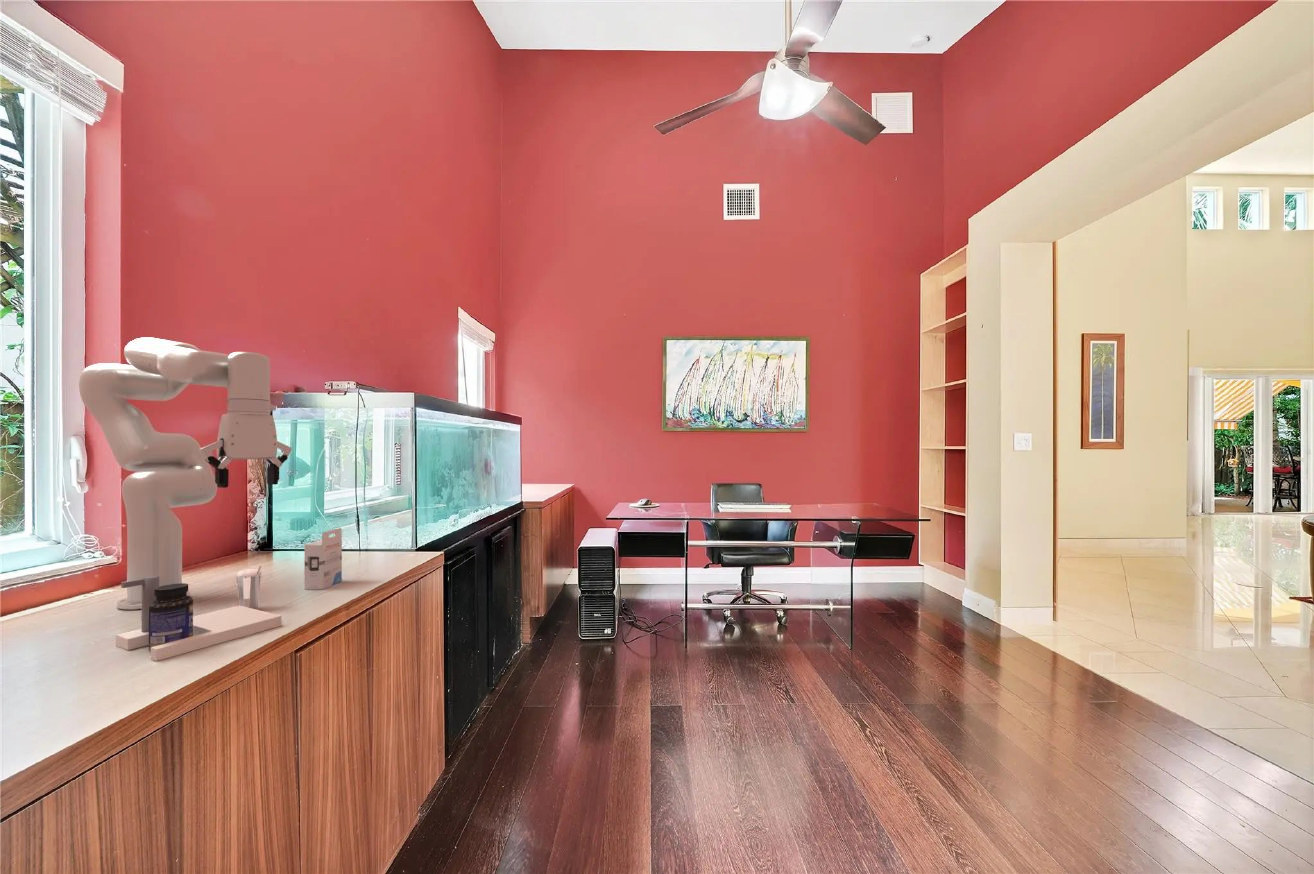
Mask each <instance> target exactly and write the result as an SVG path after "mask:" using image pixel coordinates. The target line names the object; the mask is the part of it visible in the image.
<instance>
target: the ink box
mask: <svg viewBox="0 0 1314 874" xmlns="http://www.w3.org/2000/svg"><path fill="white" fill-rule="evenodd" d="M342 534H343V533H342V527H339V528H335V529H331V530H328V531H323V532H322V533H321V539H320V540H317V541H312V542H310V543H305V544H304V561H303V562H304V568H303V569H304V586H303V587H304V590H315V591H316V590H324V589H327V588H329V587H332V586H335V585H336V584H338V583H340V582H342V575H343V574H342V573H343V570H342V567H343V565H342V564H343V557H342V555H343V554H342V553H343V548H342V547H343V539H342ZM331 535H333V536H331Z"/></svg>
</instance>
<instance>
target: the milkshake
mask: <svg viewBox="0 0 1314 874" xmlns="http://www.w3.org/2000/svg"><path fill="white" fill-rule="evenodd" d="M258 567H259V568H245V569H243V570H240V571H238V572H237V574H236V581H237V582H236V584H237V591H238V602H239V605H238V606H244V607H248V608H252V609H256V610H258V608H259V599H260V589H261V580H262V575H263V574H262V573H263V572H262V571H261V568H262V565H259V566H258Z"/></svg>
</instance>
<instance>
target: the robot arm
mask: <svg viewBox="0 0 1314 874" xmlns="http://www.w3.org/2000/svg"><path fill="white" fill-rule="evenodd" d="M123 355H124V356H123V357H124V358H125V360H126V362H127V363H128V364H124V363H123V364H122V363H109V362H108V363H106V362H105V363H95V364H92V365H89V366H87V367H85V368H84V369H83V370H82V372H81V373H80V376H79V380H78V381H79V382H78V392H79V395H80V398H81V401H82V403H83V404H84V406H85V408H86V409H87V411H88V412H89V413H90V414H91V416H92V417H93V419H94V420H95V421H96V422H97V423H98V424H99V426H100V428H101V430H102V432H103V434H104V437H105V439H106V442H107V443H108V445H109V448H110V450H111V453H112V454H113V457H114V458H115V459H114V460H116V463H117V464H118V465H119V466H120V467H121V468H122V469H123V470H125V471H129V472H133V473H131V474H129V475H128V476H126V478H124V480H123V481H122V485H121V494H122V501H123V504H124V507H125V508H124V509H125V514H126V523H127V524H126V526H127V527H126V528H127V529H126V530H127V531H126V532H127V534H126V536H127V537H126V539H127V540H126V541H127V543H126V544H127V545H126V546H127V549H126V550H127V551H126V552H127V553H126V554H127V555H126V556H127V557H126V558H127V560H126V561H127V564H126V581H131V580H137V579H142V578H145V577H150V576H159V587H160V586H164V585H169V584H179V583H183V526H182V525H183V524H182V522H181V521H180V519H179V517H178V516H177V515H176V514H175V513H174V512H173V510H171V509H174V508H181V507H191V506H192V507H193V506H200V505H204V504H208V503H210V502H211V501H212V500H214V498H215V497H216V495H217V491H218V488H224V489H226V488H228V487H229V479H230V478H229V469H228V468H227V466H228V465H229V464H230V463H231V462H232V461H233V460H235V461H236V460H238V461H239V460H264V461H265V462H266V463H267V464H268V465H269V466H267V468H266V484H268V485H273V486H274V485H275V486H276V485H278V484H279V480H280V467H282V466H283V464H284V463H285V462H286V461H287V460H288V457H289V456H290V454H291V452H292V450H293V448H292V447H290V446H289V445H286V444H284V443H282V442H280V441H278V434H277V428H276V424H275V418H274V415H271V413H272V411H273V412H274V411H276V410H277V406H276V405H275V404H272V401H271V360H270V358H269V357H268V356H267V355H266V354H262V353H257V352H252V351H251V352H250V351H235V352H232V353H230V354H227V353H221V352H216V351H210V350H209V351H208V350H207V351H206V350H201V349H200V348H198V347H197V346H196V345H194V344H191V343H188V342H187V343H186V342H181V341H175V340H174V341H173V340H170V339H169V340H168V339H163V338H162V339H161V338H155V337H140V338H135V339H134V340H132V341H129V342H128V343H127V345H125V346H124V350H123ZM189 385H196V386H197V385H198V386H206V387H207V386H210V387H220V388H227V391H226V392H227V396H226V397H227V400H226V401H227V402H226V403H227V406H226V407H227V412H226V413H222V415H221V418H220V421H219V427H218V432H217V438H216V439H217V440H216V441H214V442H211V443H210V444H207V445H205V446H202V447H201V446H200V443H199V442H198V440H196V439H195V438H194V437H192V436H191V435H188V434H184V433H177V432H176V433H175V432H173V433H172V432H159V431H157V430H155V428H154V427H153V425H152V424H151V421H150V420H149V417H148V416H147V415H146V413H144V412H143V411H142V410H140V409H139V408H138V407H137V406H135V405H133V404H132V403H130V402H129V401H127V400H136V401H153V402H167V401H170V400H172V399H175V398H176V397H177V396H178V395H179V394H180V393H182V391H184V390H185V389H186V388H187V387H188V386H189ZM278 450H280V451H281V452H280V455H278ZM213 451H216V456H217V457H215V456H214V454H213ZM277 455H278V456H277ZM213 469H214V471H213ZM187 596H190V597H191V591H189V590H188V592H187ZM116 607H117V608H118V609H119V610H142V585H139V586H133V587H127V588H126V598H123V599H120V600H119V601H118V602H117V603H116Z"/></svg>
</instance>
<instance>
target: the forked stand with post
mask: <svg viewBox="0 0 1314 874" xmlns="http://www.w3.org/2000/svg"><path fill="white" fill-rule="evenodd" d="M139 585H142V609H141V626H140V627H141V628H139V629H134V630H131V631H127V632H122V633H119V634H118V633H117V634H115V646H116V647H119V648H120V649H124V650H125V651H130V650H134V649H138V648H141V647H145V646H149V606H150V604H151V603H152V602H153V601H155V600H156V597H155V596H154V589H155V588H157V587H159V576H150V577H145V578H142V579H137V580H131V581H127V580H125V581H121V582H120V588H121V589H127V587H133V586H139ZM280 626H282V615H280V614H275V613H271V612H268V611H263V610H259V609H252V608H248V607H244V606H239V605H237V606H232V607H228V608H223V609H219V610H215V611H211V612H207V613H202V614H198V615H195V616H194V615H193V636H192V637H188V638H185V639H181V640H177V641H173V642H169V643H166V644H162V645H158V646H154V647H151V650H150V660H152V661H155V662H157V661H161V660H165V659H168V658H171V657H175V656H178V655H183V654H186V653H188V652H189V653H190V652H192V651H196V650H200V649H202V648H203V649H204V648H206V647H211V646H214V645H218V644H221V643H224V642H229V641H232V640H235V639H240V638H241V637H246V636H249V635H252V634H253V635H254V634H256V633H260V632H264V631H266V630H270V629H271V630H272V629H274V628H277V627H280Z"/></svg>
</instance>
